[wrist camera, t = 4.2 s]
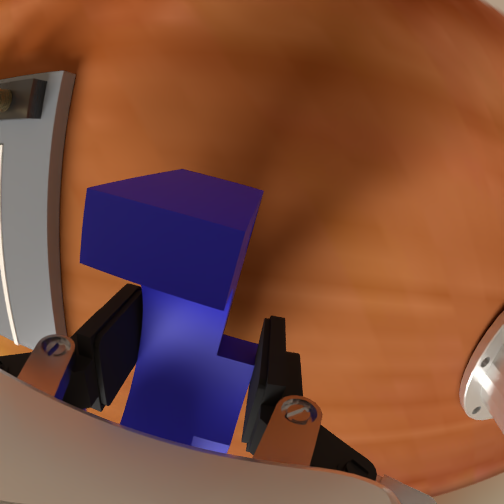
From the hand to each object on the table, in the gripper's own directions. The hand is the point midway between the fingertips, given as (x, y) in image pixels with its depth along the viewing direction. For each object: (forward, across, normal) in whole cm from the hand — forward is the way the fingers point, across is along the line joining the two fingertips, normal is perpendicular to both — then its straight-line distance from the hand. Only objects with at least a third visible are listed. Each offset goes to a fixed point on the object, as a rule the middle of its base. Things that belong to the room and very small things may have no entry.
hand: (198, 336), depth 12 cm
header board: (+3, +16, -2) cm, 17 cm away
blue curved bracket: (+1, 0, 0) cm, 1 cm away
